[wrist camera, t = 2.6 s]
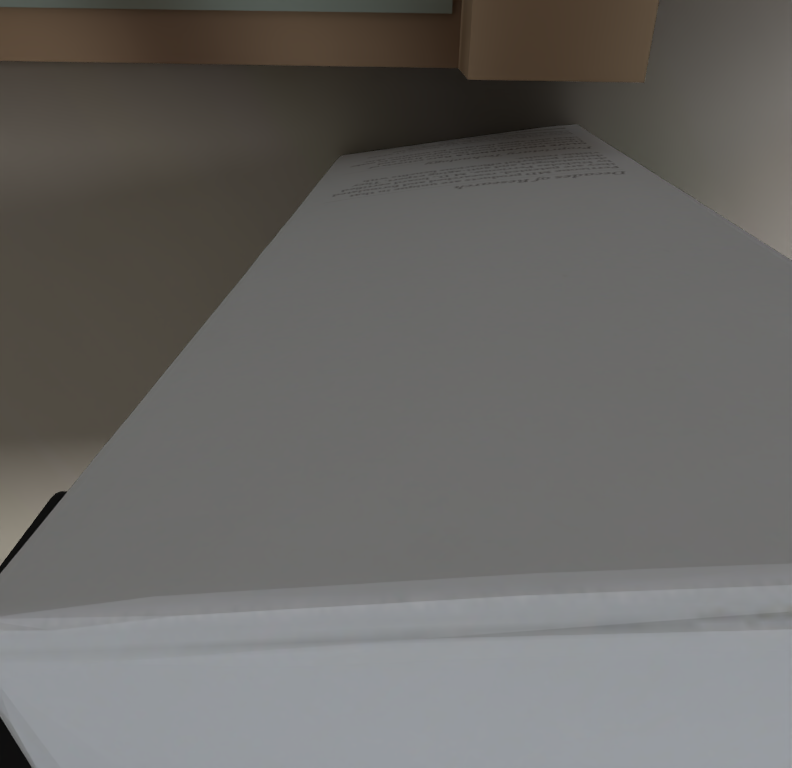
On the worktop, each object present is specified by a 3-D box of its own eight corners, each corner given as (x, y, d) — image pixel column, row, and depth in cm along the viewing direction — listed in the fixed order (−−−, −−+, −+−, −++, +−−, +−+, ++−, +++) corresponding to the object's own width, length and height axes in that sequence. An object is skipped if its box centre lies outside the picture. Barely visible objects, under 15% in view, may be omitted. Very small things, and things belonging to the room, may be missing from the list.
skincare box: (578, 398, 20) (922, 1208, 6) (366, 417, 20) (263, 1199, 7) (582, 105, 16) (1555, 613, 2) (317, 139, 16) (-159, 710, 3)
